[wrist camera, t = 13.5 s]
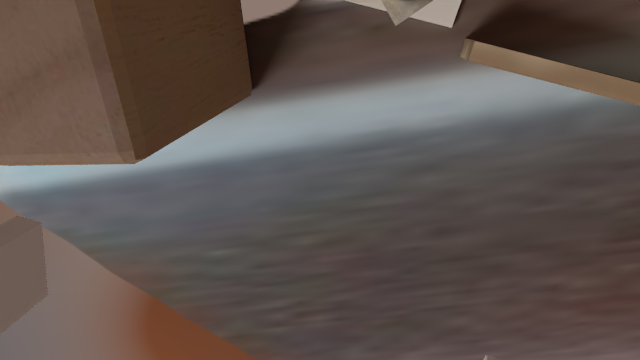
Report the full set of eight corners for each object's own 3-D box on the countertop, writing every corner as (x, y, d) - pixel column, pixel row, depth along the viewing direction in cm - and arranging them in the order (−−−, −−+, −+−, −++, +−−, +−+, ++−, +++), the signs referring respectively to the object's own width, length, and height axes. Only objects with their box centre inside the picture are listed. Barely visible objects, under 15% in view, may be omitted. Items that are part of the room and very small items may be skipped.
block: (139, -7, 36) (-108, -28, 18) (241, -17, 35) (81, -51, 16) (164, 100, 40) (-21, 172, 22) (256, 96, 38) (140, 170, 20)
